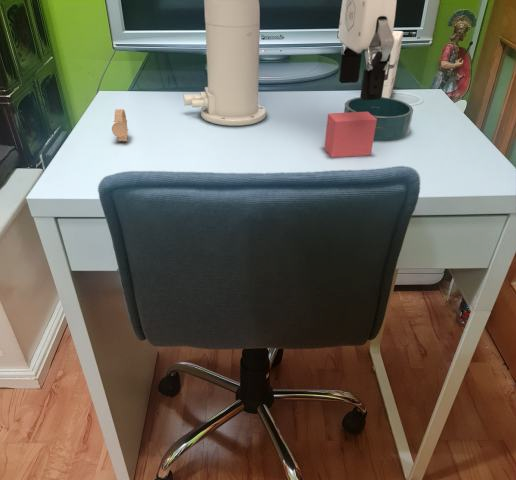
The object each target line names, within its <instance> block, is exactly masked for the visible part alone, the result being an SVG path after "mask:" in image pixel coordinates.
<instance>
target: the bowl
mask: <svg viewBox="0 0 516 480" xmlns="http://www.w3.org/2000/svg"><path fill="white" fill-rule="evenodd" d="M343 110H344V111H343V113H349V112H369V113H370V114H371V115H372V116H373V117H375V118H376V119H377V121H376V127H375V133H374V139H373V141H376V142H377V141H378V142H389V141H396V140H400V139H403V138H405V137H407V135H409V130H410V128H411V123H412V118H413V114H414V108H413V106H411V105H410V104H409V103H407V102H405V101H402V100H401V99H396V98H392V97H390V98H385V97H381V99H374V100H362V99H361V98H360V96H359V97H354V98H350V99H348V100H347V101H346V102H345V103H344V109H343Z"/></svg>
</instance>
